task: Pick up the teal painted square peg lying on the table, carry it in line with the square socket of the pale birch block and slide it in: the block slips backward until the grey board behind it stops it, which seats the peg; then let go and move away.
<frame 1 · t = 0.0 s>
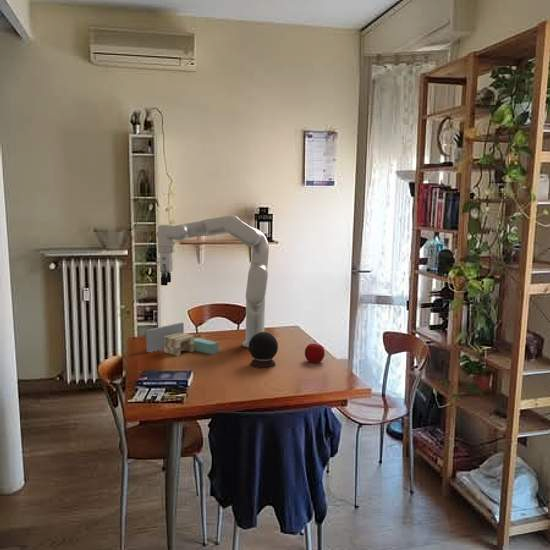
hand: (166, 283, 267), 31 cm above the table, tool pointing down, fingers open, 9 cm apart
wall: (165, 348, 264), on the table
apple: (314, 362, 246), on the table
peg: (204, 351, 261), on the table
block: (179, 343, 257), point 4 cm above the table, slide at 0.0 cm
snow globe: (263, 365, 240), on the table
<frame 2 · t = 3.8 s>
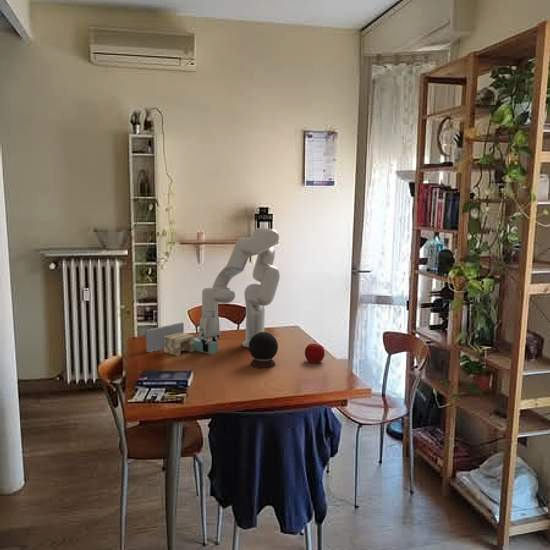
hand: (209, 349, 258), 1 cm above the table, tool pointing down, fingers closed on peg, 5 cm apart
peg: (203, 350, 261), on the table, touching gripper
everything else where it was.
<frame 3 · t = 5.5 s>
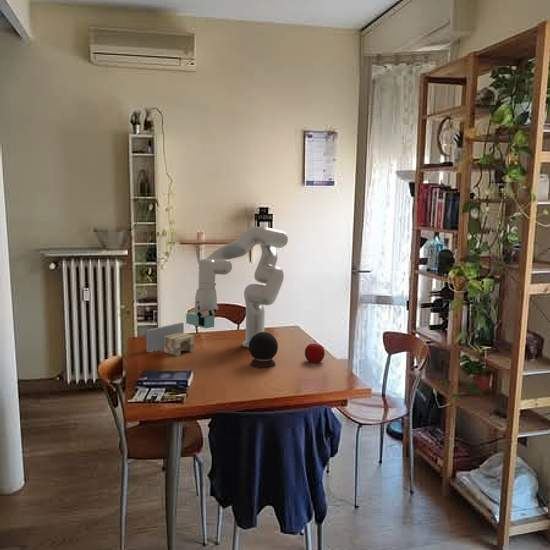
hand: (205, 324, 247), 16 cm above the table, tool pointing down, fingers closed on peg, 5 cm apart
peg: (200, 325, 249), point 15 cm above the table, touching gripper
everything else where it was.
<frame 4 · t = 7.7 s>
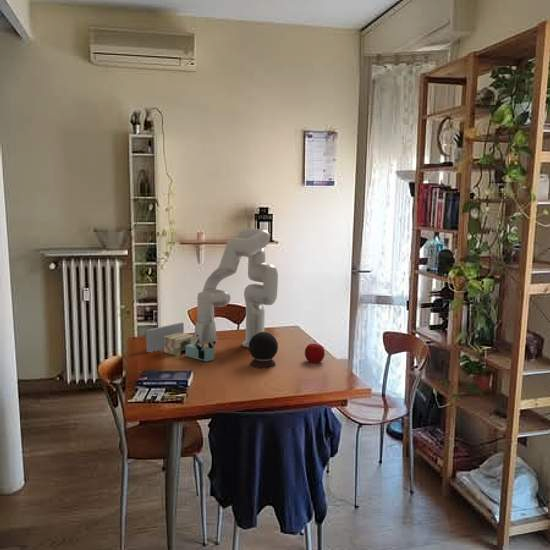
hand: (205, 356, 246), 1 cm above the table, tool pointing down, fingers closed on peg, 5 cm apart
peg: (199, 357, 249), on the table, touching gripper
everything else where it was.
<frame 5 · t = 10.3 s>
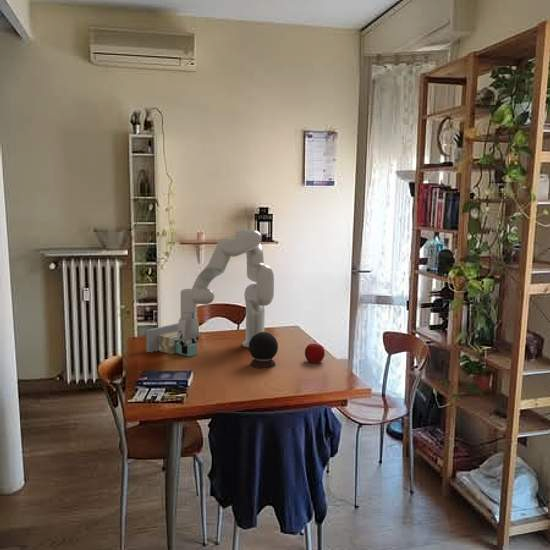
hand: (188, 352, 253), 1 cm above the table, tool pointing down, fingers closed on peg, 5 cm apart
peg: (183, 352, 256), on the table, touching gripper
block: (173, 342, 260), point 4 cm above the table, slide at 4.2 cm
everything else where it was.
when the fingers open (1 cm above the table, at t = 11.6 s): peg stays where it is, on the table.
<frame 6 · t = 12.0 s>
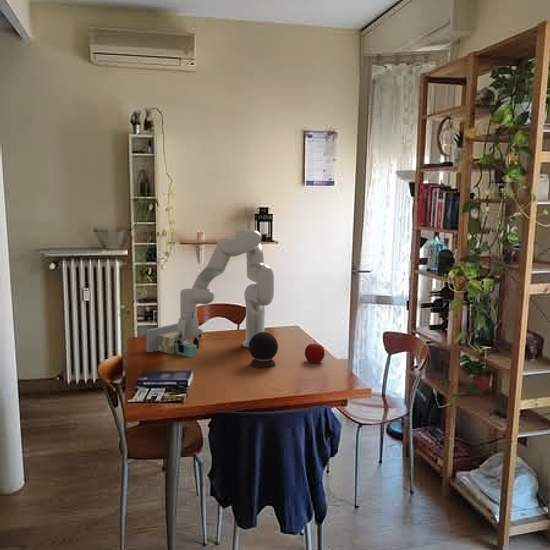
hand: (188, 350, 253), 2 cm above the table, tool pointing down, fingers open, 9 cm apart
peg: (183, 353, 256), on the table
everything else where it was.
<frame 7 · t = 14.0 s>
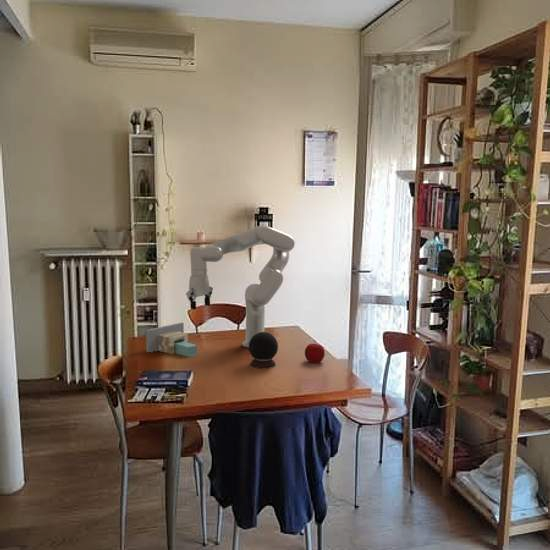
hand: (200, 307, 260), 21 cm above the table, tool pointing down, fingers open, 9 cm apart
nothing on the table moved.
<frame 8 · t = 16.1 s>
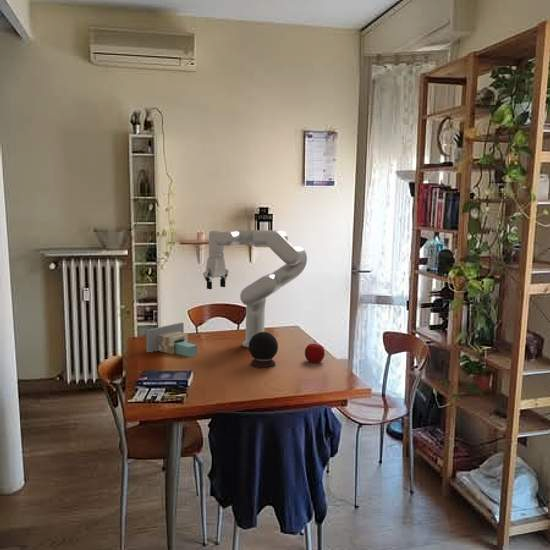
hand: (216, 287, 274), 28 cm above the table, tool pointing down, fingers open, 9 cm apart
nothing on the table moved.
at the end: block slide at 4.3 cm; peg 0.8 cm from the target spot, on the table; the gripper is holding nothing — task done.
